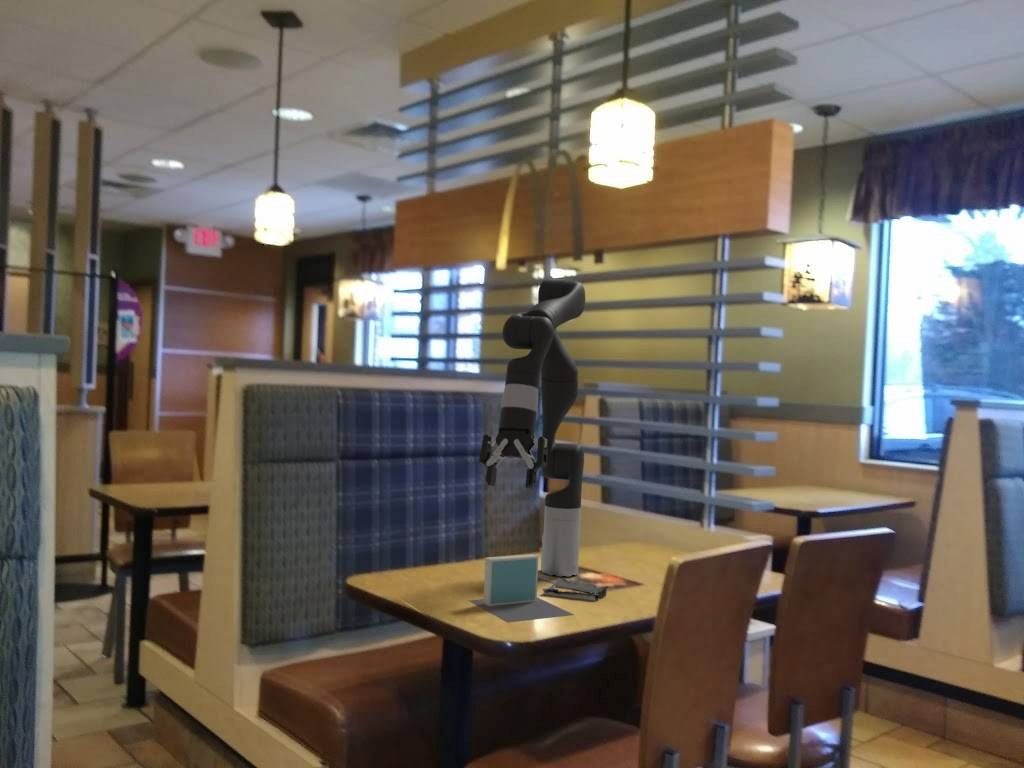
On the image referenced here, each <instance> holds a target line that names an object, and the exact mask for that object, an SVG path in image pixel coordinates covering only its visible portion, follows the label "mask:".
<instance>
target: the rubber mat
mask: <svg viewBox="0 0 1024 768" xmlns="http://www.w3.org/2000/svg"><path fill="white" fill-rule="evenodd" d="M468 602H470V603H471V604H473V605H476V606H477V607H480V608H481V609H483V610H484V611H487V612H488V613H490V614H492V615H493V616H495V617H496V618H499V619H501V620H503V621H505V622H506V623H516V622H524V621H525V622H526V621H532V620H533V621H535V620H541V619H549V618H551V619H552V618H558V617H559V618H560V617H569V616H575V614H574V613H571V612H570V611H567V610H565V609H563V608H561V607H559V606H557V605H554V604H553V603H550V602H548V601H546V600H544V599H542V598H540V597H538V596H537V601H535V602H525V603H515V604H505V605H495V606H487V605H485V604H484V603H483V602H484V598H482V599H472V600H471V599H470V600H468Z"/></svg>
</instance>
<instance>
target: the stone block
mask: <svg viewBox="0 0 1024 768" xmlns="http://www.w3.org/2000/svg"><path fill="white" fill-rule="evenodd" d="M484 559H485V560H484V583H483V599H484V602H483V603H484V604H485V605H487V606H495V605H505V604H515V603H525V602H535V601H537V597H538V596H537V595H538V577H539V576H538V575H539V574H538V573H539V555H536V554H532V553H531V554H519V555H515V554H514V555H503V556H502V555H501V556H490V557H489V556H488V557H485V558H484Z"/></svg>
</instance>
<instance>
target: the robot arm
mask: <svg viewBox="0 0 1024 768" xmlns="http://www.w3.org/2000/svg"><path fill="white" fill-rule="evenodd" d="M585 305H586V291H585V287H584V285H583V284H582V283H581V282H580V281H576V280H561V279H545V280H543V281H541V282H540V284H539V287H538V294H537V303H536V304H534V305H533V306H532V307H531V308H529V310H524V311H520V312H518V313H517V312H516V313H514V314H512V315H511V316H509V317H508V318H507V320H506V321H505V322H504V324H503V327H502V339H503V341H504V343H505V344H506V346H508V347H509V348H511V349H513V350H528V351H529V350H530V352H528V354H527V355H525V356H521V357H516V358H512V359H511V360H509V361H508V362H507V366H506V375H505V384H504V389H503V391H502V392H503V393H502V397H501V402H500V413H499V422H498V433H497V435H496V436H492V435H490V434H486V433H485V434H484V435H483V438H482V443H481V449H480V454H479V458H478V461H479V463H481V464H483V465H485V466H486V475H485V482H486V483H487V486H490V487H495V486H496V481H497V475H498V473H497V472H498V468H497V467H498V465H499V464H500V463H502V462H503V461H504V460H505V459H506V458H509V459H513V458H517V459H522V460H524V461H525V463H526V465H527V467H528V468H527V469H526V477H525V486H524V487H525V488H526V489H529V490H532V489H533V487H535V486H536V483H537V476H538V475H537V474H538V471H539V470H540V469H541V473H542V476H543V477H544V478H546V479H552V480H565V481H566V480H567V481H568V484H567V485H566V486H565V487H564V488H561V489H558V490H555V491H552V492H551V491H550V492H548V493H547V494H546V495H545V497H544V498H545V499H544V518H543V521H544V523H543V533H542V535H541V555H540V556H541V559H540V560H541V561H540V570H541V572H542V573H543V574H544V573H545V575H547V574H548V575H547V576H552V575H556V576H555V577H562V576H566V577H573V576H572V575H575V576H577V575H579V560H580V536H581V514H582V511H581V510H582V492H583V476H584V466H585V451H584V448H583V446H582V445H581V444H577V443H564V442H563V443H560V442H556V434H557V432H558V429H559V427H560V425H561V424H562V421H563V420H564V418H565V417H566V416H567V414H568V413H569V411H570V410H571V408H572V407H573V405H574V404H575V403H576V400H577V398H578V395H579V371H578V367H577V365H576V362H575V361H574V359H573V357H572V356H571V354H570V352H569V351H568V349H567V348H566V347H565V345H564V343H563V341H562V340H561V338H560V335H559V333H558V329H557V328H558V327H559V326H561V325H563V324H565V323H567V322H569V321H571V320H575V319H577V318H580V316H581V315H582V314H583V312H584V309H585ZM539 389H541V390H540V392H541V413H542V414H541V415H542V416H541V417H542V420H541V421H542V423H541V424H542V426H541V427H542V428H541V429H542V430H541V436H539V437H536V438H535V431H536V423H537V418H538V417H537V415H538V407H539V406H538V405H539ZM495 444H496V445H497V447H496V449H495V450H494V451H493V452H492V450H493V447H494V446H495ZM534 446H535V448H537V450H536V451H537V454H536V460H535V457H534V455H533V453H532V451H531V450H532V448H534Z"/></svg>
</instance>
